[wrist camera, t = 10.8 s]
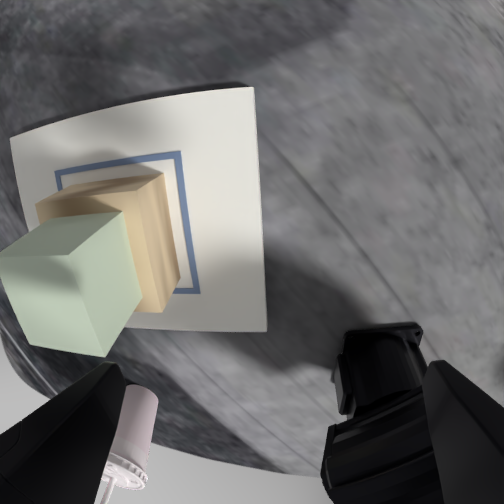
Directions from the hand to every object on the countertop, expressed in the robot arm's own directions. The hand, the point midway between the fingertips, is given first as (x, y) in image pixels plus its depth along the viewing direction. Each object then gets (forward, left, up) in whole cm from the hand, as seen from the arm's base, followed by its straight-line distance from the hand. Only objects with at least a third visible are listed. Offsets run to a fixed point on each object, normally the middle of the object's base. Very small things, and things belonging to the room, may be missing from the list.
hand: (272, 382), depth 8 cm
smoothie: (+14, +18, -13) cm, 26 cm away
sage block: (+10, 0, -8) cm, 13 cm away
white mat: (+10, 0, -13) cm, 16 cm away
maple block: (+10, 0, -12) cm, 16 cm away
